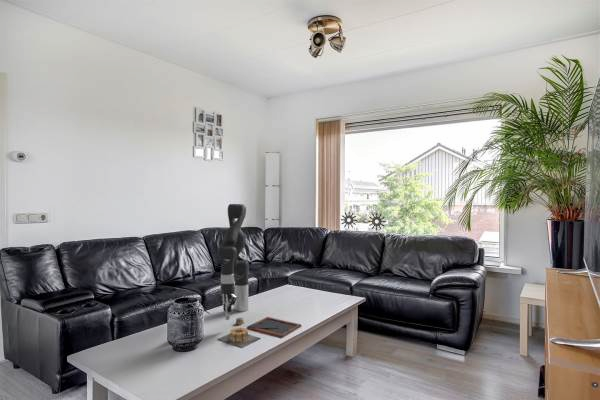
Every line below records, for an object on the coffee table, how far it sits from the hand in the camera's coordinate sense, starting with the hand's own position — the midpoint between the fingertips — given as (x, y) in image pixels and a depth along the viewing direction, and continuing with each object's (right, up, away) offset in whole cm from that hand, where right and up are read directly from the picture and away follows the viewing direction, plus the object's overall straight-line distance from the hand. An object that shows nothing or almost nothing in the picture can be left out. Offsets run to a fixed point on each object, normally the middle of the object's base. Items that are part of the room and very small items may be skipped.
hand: (227, 311), depth 198 cm
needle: (0, -4, 0) cm, 4 cm away
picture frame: (+26, -12, +5) cm, 29 cm away
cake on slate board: (+9, -11, -12) cm, 19 cm away
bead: (+5, -11, +11) cm, 16 cm away
